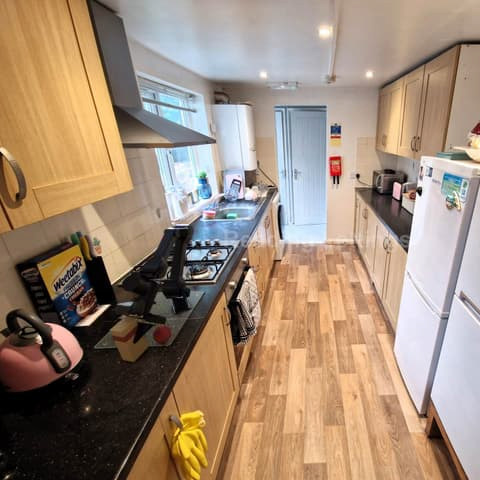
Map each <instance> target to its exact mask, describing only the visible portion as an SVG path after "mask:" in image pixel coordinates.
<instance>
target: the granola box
mask: <svg viewBox="0 0 480 480" xmlns="http://www.w3.org/2000/svg"><path fill="white" fill-rule="evenodd" d="M134 317H135V316H134ZM134 317H128V316H126V317H125V318H123V319H122V320H121V321H120V322H119V321H118V322H117V323H116V324H115V325H114V326H112V327H111V328H110V329H109V332H110V334H111V337H112V339H113V341H114V343H115V345H116V348H117V349H118V352H119V354H120V357H121V359H122V360H123V361H127V362H131V363H132V362H133V363H135V362H136V360H138V358H140V357H141V355H142V354H143V353H144V352H145V351H146V350H147V349H148V348H149V344H148V342H147V339H146V338H145V337H146V336H145V335H144V336H143V337H142V338H141V339H140V340H139V341H138V342H137V343H136V344H133V340H134V337H135V334H136V331H137V329H138V324H137V322H140V321H139V319H138V318H134Z"/></svg>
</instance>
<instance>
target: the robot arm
mask: <svg viewBox="0 0 480 480" xmlns="http://www.w3.org/2000/svg"><path fill="white" fill-rule="evenodd" d="M194 233H195V229H194V227H193V226H192V225H191V224H174V225H173V226H171V227H168V228H165V229H164V230H163V235H162V238H161V239H160V242H159V244H158V246H157V248H156V249H155V252H154V253H153V256H151V257H150V258H148V259H147V260H146V261H145V262H144V263H143V265H142V267H141V268H140V269H139V270H138V271H131V273H130V274H129V275H127V276H126V277H125V278H124V279H123V280H122V281H121V288H122V289H123V290H124V291H125V292H128V293H132V294H134V295H135V294H136V297H133V298H131V301H125V302H120V303H117V304H116V308H113V309H111V310H110V312H109V313H108V316H109V317H113V318H114V317H115V318H116V321H117V322H118V323H119V322H120V321H121V320H122V319H123V318H125V317H126V316H128V317H134V318H138V320H141V321H139V322H137V324H138V329H137V331H136V334H135V337H134V340H133V344H136V343H137V342H138V341H139V340H140V339H141V338H142V337H143V336H144V337H145V335H146V334H147V333H148V332H149V331H150V330H151V329H152V328H153V327H156V326H157V325H160V324H161V325H162V326H166V324H167V316H166V315H165V316H164V315H160V314H153V313H152V312H151V311H152V309H153V305H155V306H156V304H157V301H156V298H157V295H158V292H159V289H160V288H161V293H162V295H163V296H164V298H165V299H166V300H171V302H172V305H171V309H172V310H173V312H174V314H175V315H176V314H179V313H182V312H184V311H189V310H190V309H191V308H192V307H191V305H190V303H189V301H188V298H190V296H191V292H192V291H191V288H190V287H187V282H186V280H185V278H184V271H185V262H186V256H187V250H188V244H189V243H190V242H191V241H192V240H193V236H194ZM172 250H173V252H172ZM171 252H172V259H171V267H170V273H169V276H168V277H167V278H166V279H164V278H165V277H166V275H167V273H168V268H169V264H168V260H169V257H170V255H171ZM162 279H164V280H163V282H162Z"/></svg>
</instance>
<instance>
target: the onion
mask: <svg viewBox="0 0 480 480" xmlns="http://www.w3.org/2000/svg"><path fill="white" fill-rule="evenodd" d="M171 336H172V330H171V328H169V327H168V326H166V325H163V324H158V326H157V328H155V330H154V331H153V333H152V339H153V341H154V342H156V343H157V344H166V343H167V342H168V341H169V340H170V338H171Z"/></svg>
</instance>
